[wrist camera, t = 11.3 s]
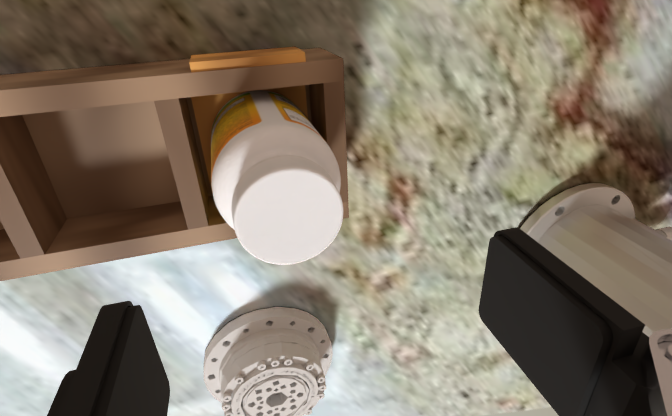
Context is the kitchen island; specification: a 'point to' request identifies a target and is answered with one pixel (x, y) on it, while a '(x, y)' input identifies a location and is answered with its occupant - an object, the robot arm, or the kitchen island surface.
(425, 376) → the kitchen island surface
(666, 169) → the kitchen island surface
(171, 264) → the kitchen island surface
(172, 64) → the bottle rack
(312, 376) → the mechanical component
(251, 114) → the supplement bottle
